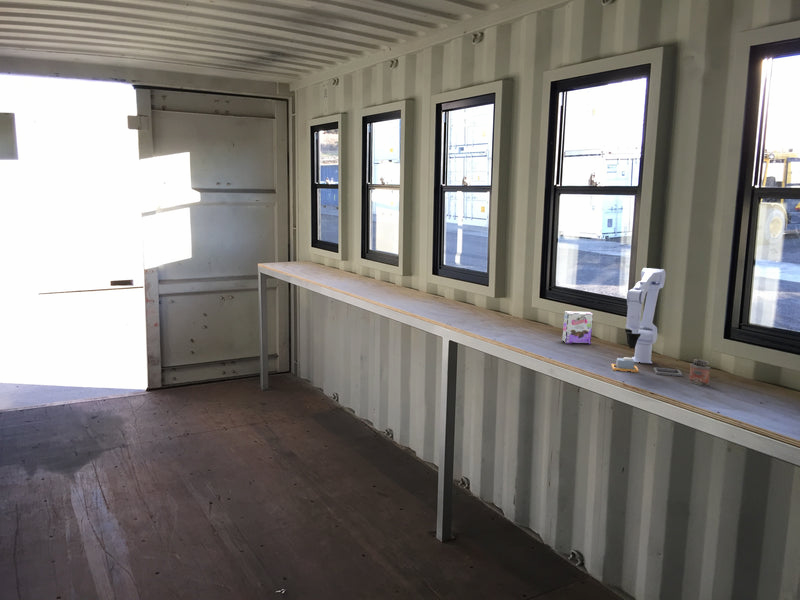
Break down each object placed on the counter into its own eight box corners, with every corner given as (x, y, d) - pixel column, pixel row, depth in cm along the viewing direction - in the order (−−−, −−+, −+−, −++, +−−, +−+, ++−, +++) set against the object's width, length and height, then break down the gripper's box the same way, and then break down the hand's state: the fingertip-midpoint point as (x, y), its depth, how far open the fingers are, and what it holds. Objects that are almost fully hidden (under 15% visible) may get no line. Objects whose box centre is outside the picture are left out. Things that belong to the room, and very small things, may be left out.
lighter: (686, 381, 269) (689, 358, 267) (690, 380, 271) (693, 357, 269) (706, 386, 263) (708, 362, 261) (709, 384, 265) (712, 361, 263)
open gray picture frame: (653, 369, 287) (653, 367, 286) (678, 371, 284) (678, 369, 284) (656, 374, 279) (656, 371, 279) (682, 376, 276) (682, 374, 276)
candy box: (565, 343, 335) (567, 312, 332) (561, 341, 340) (564, 310, 338) (591, 344, 335) (593, 313, 333) (587, 341, 341) (589, 311, 339)
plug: (615, 367, 288) (616, 356, 288) (632, 369, 287) (633, 357, 286) (616, 370, 284) (617, 358, 283) (633, 371, 283) (634, 359, 282)
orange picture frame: (611, 365, 291) (611, 363, 290) (635, 368, 288) (636, 365, 288) (613, 370, 283) (613, 368, 283) (638, 372, 280) (638, 370, 280)
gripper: (645, 320, 274) (642, 350, 277) (641, 314, 288) (638, 343, 290) (628, 318, 276) (625, 349, 278) (624, 313, 290) (622, 342, 292)
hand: (631, 346), depth 284 cm, fingers open, 7 cm apart
